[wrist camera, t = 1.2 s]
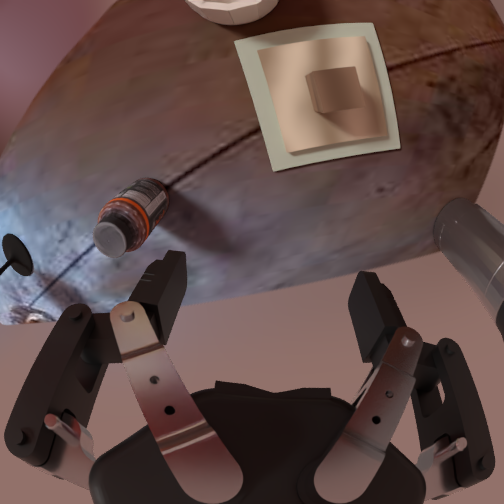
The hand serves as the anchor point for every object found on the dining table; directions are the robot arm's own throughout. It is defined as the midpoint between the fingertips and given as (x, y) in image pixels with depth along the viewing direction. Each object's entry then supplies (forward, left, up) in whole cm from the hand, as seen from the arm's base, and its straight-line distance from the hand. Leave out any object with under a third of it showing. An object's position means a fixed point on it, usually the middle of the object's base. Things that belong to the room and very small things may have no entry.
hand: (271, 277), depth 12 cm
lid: (-8, -7, -21) cm, 23 cm away
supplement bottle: (+16, 0, -21) cm, 26 cm away
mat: (-8, -7, -21) cm, 24 cm away
